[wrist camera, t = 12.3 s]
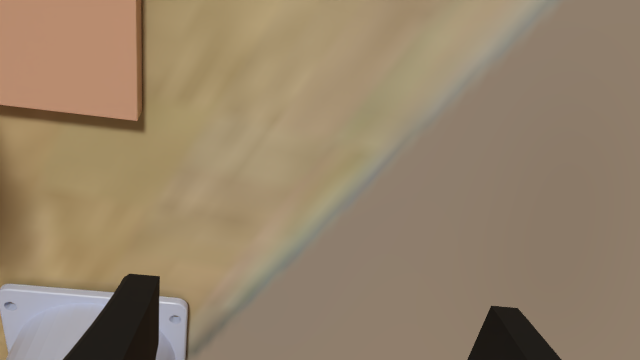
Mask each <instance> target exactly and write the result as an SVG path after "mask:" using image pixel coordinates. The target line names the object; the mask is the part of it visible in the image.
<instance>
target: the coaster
mask: <svg viewBox="0 0 640 360" xmlns="http://www.w3.org/2000/svg"><path fill="white" fill-rule="evenodd" d="M0 105H7V106H16V107H24V108H33V109H41V110H49V111H58V112H66V113H75V114H83V115H92V116H100V117H109V118H117V119H126V120H134V121H138V118H139V116H140V114H141V112H142V23H141V0H0Z"/></svg>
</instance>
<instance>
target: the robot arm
mask: <svg viewBox="0 0 640 360" xmlns="http://www.w3.org/2000/svg"><path fill="white" fill-rule="evenodd" d="M159 282H160V276H149V275H138V274H129V275H127V276H125V277H124V278H123V280H122V282H121V283H120V285H119V286H118V288H117V289H116V291H115V292H102V291H90V290H78V289H67V288H55V287H43V286H31V285H19V284H5V285H3V286H2V287H1V288H0V313H1V318H2V323H3V328H4V333H5V339H6V344H7V349H8V356H7V358H6V360H186V340H187V320H188V304H187V303H186V301H184V300H183V299H180V298H173V297H161V296H159ZM11 302H12V303H11ZM13 303H14V304H13ZM174 315H176V316H179V317H174ZM468 360H561V359H560V358H559V356H558V355H557V354H556V353H555V352H554V350H553V349H552V348H551V347H550V346H549V345H548V343H547V342H546V341H545V340H544V339H543V337H542V336H541V335H540V334H539V333H538V332H537V330H536V329H535V328H534V327H533V325H532V324H531V323H530V322H529V321H528V320H527V319H526V317H525V316H524V315H523V314H522V313H521V312H520V310H519V309H518V308H510V307H499V306H491V308H490V310H489V312H488V314H487V317H486V319H485V321H484V323H483V326H482V328H481V330H480V332H479V335H478V337H477V339H476V341H475V344H474V346H473V348H472V351H471V353H470V355H469V357H468Z"/></svg>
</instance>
